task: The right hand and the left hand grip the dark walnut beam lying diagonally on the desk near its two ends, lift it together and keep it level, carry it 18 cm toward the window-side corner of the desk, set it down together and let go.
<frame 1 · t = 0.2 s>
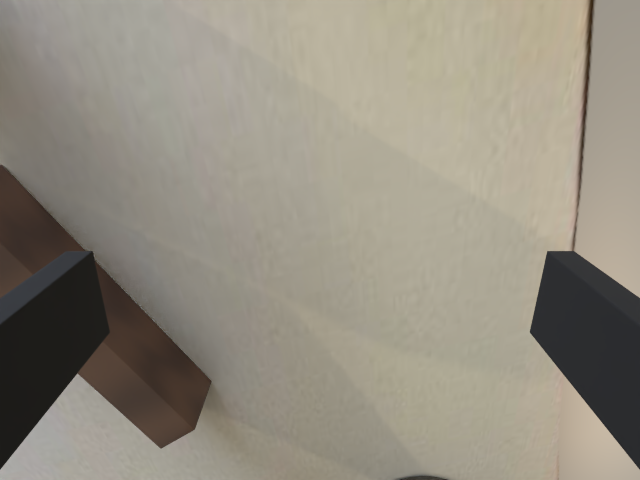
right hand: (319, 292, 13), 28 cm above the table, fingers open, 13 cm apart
beam: (102, 295, 44), on the table
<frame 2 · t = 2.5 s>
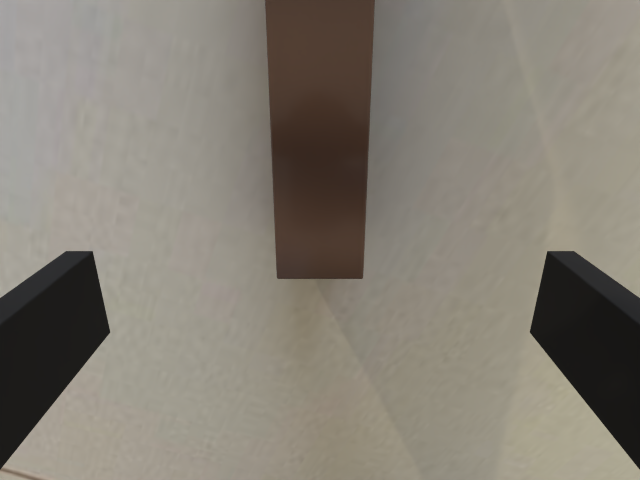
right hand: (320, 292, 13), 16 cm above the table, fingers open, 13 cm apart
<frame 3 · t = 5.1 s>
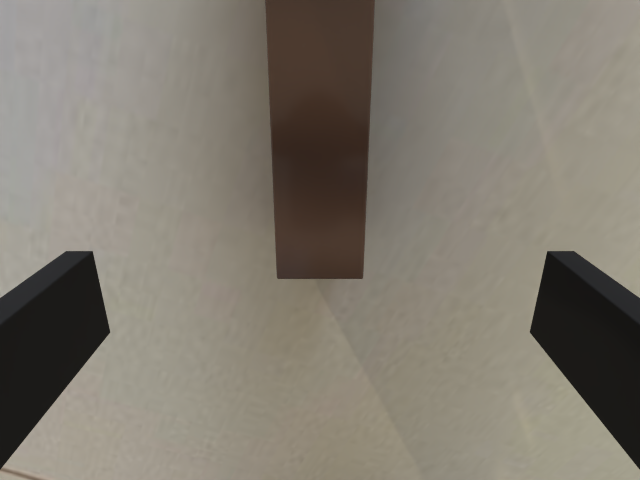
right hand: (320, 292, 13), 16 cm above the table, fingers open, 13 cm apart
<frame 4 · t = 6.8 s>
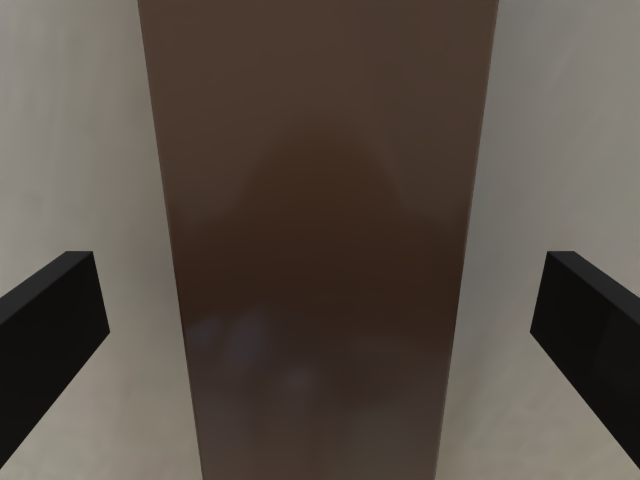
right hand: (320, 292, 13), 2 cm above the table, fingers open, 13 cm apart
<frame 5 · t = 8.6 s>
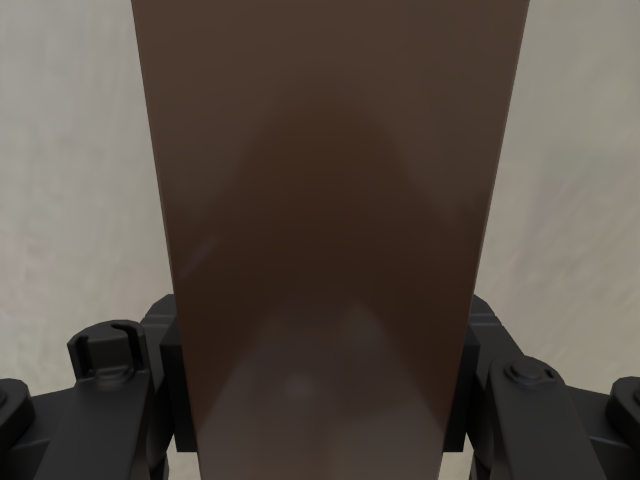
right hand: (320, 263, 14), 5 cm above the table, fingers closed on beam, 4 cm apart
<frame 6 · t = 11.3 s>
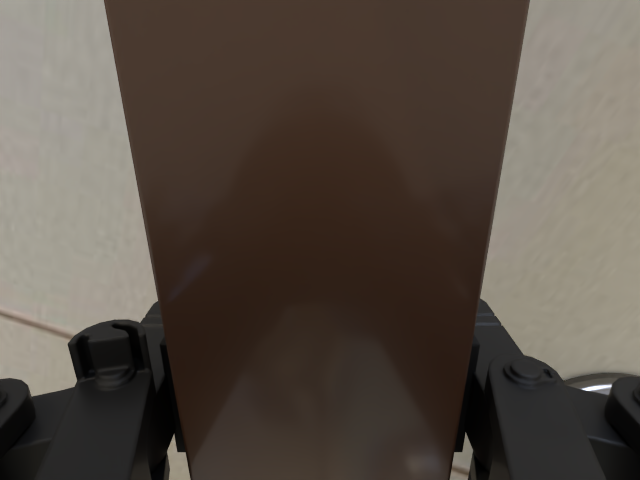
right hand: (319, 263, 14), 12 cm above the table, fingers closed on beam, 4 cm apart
when the left hand's fingers open (3 cm above the table, at t = 14.0 s): beam stays where it is, held by the right hand.
when the right hand's fingers open (0 cm above the table, at t = 14.4 s): beam stays where it is, on the table.
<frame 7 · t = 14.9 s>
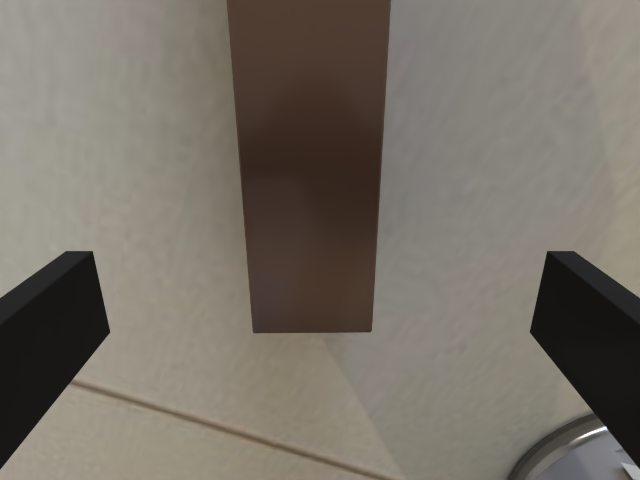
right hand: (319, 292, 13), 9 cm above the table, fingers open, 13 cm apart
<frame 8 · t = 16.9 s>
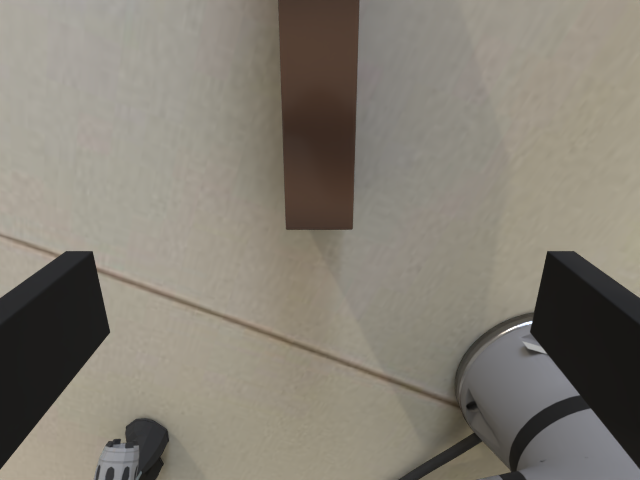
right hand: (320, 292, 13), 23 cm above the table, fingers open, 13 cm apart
robot: (146, 446, 45), on the table
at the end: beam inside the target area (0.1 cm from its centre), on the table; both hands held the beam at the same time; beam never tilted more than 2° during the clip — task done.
